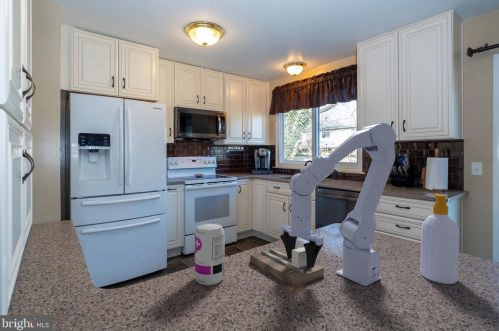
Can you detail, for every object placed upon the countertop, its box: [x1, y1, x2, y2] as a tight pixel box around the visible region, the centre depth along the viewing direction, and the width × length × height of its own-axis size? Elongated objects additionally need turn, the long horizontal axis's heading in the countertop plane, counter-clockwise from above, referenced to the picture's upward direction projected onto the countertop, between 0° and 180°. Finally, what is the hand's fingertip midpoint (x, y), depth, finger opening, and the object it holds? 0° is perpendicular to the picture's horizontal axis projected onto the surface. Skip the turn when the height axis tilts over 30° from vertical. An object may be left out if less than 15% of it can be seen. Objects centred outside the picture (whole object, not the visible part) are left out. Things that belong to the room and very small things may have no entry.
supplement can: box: [194, 222, 226, 286], centre depth 72 cm, size 8×8×15 cm
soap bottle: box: [419, 192, 460, 285], centre depth 74 cm, size 9×9×24 cm
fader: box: [292, 246, 307, 270], centre depth 74 cm, size 3×4×5 cm
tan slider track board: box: [249, 247, 325, 289], centre depth 79 cm, size 20×12×3 cm, turn 35°
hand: (300, 262), depth 74 cm, fingers open, 7 cm apart
